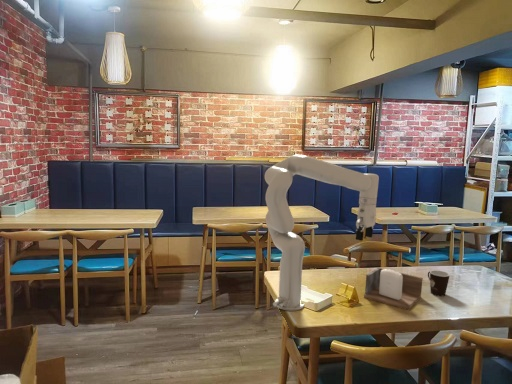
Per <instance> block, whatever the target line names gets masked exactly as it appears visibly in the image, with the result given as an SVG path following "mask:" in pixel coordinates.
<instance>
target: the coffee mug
mask: <svg viewBox="0 0 512 384" xmlns="http://www.w3.org/2000/svg"><path fill="white" fill-rule="evenodd" d="M450 276H451V274H450V273H448V272H446V271H443V270H438V269H437V270H430V271H428V272H427V278H428V280H429V282H430V283H429V288H430V294H431V295H433V296H436V297H445V296H446V292H447V289H448V284H449V281H450Z"/></svg>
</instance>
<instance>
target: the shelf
mask: <svg viewBox="0 0 512 384" xmlns="http://www.w3.org/2000/svg"><path fill="white" fill-rule="evenodd" d="M383 269H384V268H382V267H381V268H380V267H376V268H375V269H374V270H372V271H370V272H369V273H367V274H365V276H366V277H365V288H364V289H365V291H364V294H363V298H364V299H367V300H370V301H375V302H378V303H383V304H386V305H389V306H393V307H396V308H399V309H403V310H408V311H409V310H410V309H411V308H412V307H413V306H414V305H415V304H416V303H417V302H418V301H419V300H420V299H421V298H422V290H423V277H420V276H417V275H412V274H407V273H403V272H399V273H400V274H402V276H403V282H402V297H401V299H400V300H397V299H393V298H390V297H387V296H384V295H381V294H379V285H380V273H381V270H383Z"/></svg>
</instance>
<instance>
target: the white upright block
mask: <svg viewBox="0 0 512 384" xmlns="http://www.w3.org/2000/svg"><path fill="white" fill-rule="evenodd" d="M382 269H383V270H381V273H380V285H379V294H381V295H384V296H387V297H390V298H393V299H397V300H400V299H401V297H402V282H403V276H402V274H400V273H401V272H399V271H397V270H393V269H389V268H387V269H386V268H382Z"/></svg>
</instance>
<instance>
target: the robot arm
mask: <svg viewBox="0 0 512 384" xmlns="http://www.w3.org/2000/svg"><path fill="white" fill-rule="evenodd" d="M295 175H299V176H301V177H305V178H307V179H313V180H316V181H319V182H322V183H326V184H329V185H334V186H340V187H344V188H347V189H350V190H354V191H357V192H359V196H358V197H359V199H358V205H359V207H358V211H357V218H356V219H357V220H356V222H355V240H357V241H360V242H362V241H363V240H364V234H365V237H366V238H373V233H374V226H375V225H376V219H377V218H376V217H377V198H378V190H379V181H380V179H379V178H380V177H379V175H378V174H376V173H363V172H360V171H356V170H353V169H349V168H347V167H343V166H340V165H336V164H334V163H331V162H327V161H324V160H322V159H318V158H315V157H311V156H308V155H304V154H294V155H290V156H288V157H287V158H285V159H283V160H281V161H279V162H277V163H276V164H275V163H274V165H272V166H270V167H268V169H266V171H265V173H264V180H265V181H264V182H266V184H267V185H268V187H267V189H266V192H265V199H264V200H265V204H266V207H267V210H268V211H267V212H266V214H265V223H266V227H267V229H268V233H269V235H270V237H271V238H270V239H271V240H272V242H273V245H274V246H275V247H276V248H277V249H278V250H279V251H281V258H280V261H279V281H278V296H277V298H276V299H275V301H274V302H273V303H272V306H273V307H274V308H275V307H276V308H277V309H280V310H283V311H291V312H295V311H299V310H302V309H304V306H305V303H304V304H301V300H302V298H301V297H302V279H303V278H302V276H303V260H304V255H305V250H306V246H305V242H304V240H303V238H302V237H301V236H300V235H298V234H296V232H292V231H293V230H294V228H295V221H294V217H293V214H292V212H291V209H290V206H289V203H288V200H287V195H288V193H287V192H288V190H289V188H290V187H291V185H292V183H293V177H294V176H295ZM364 230H365V232H364Z"/></svg>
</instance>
